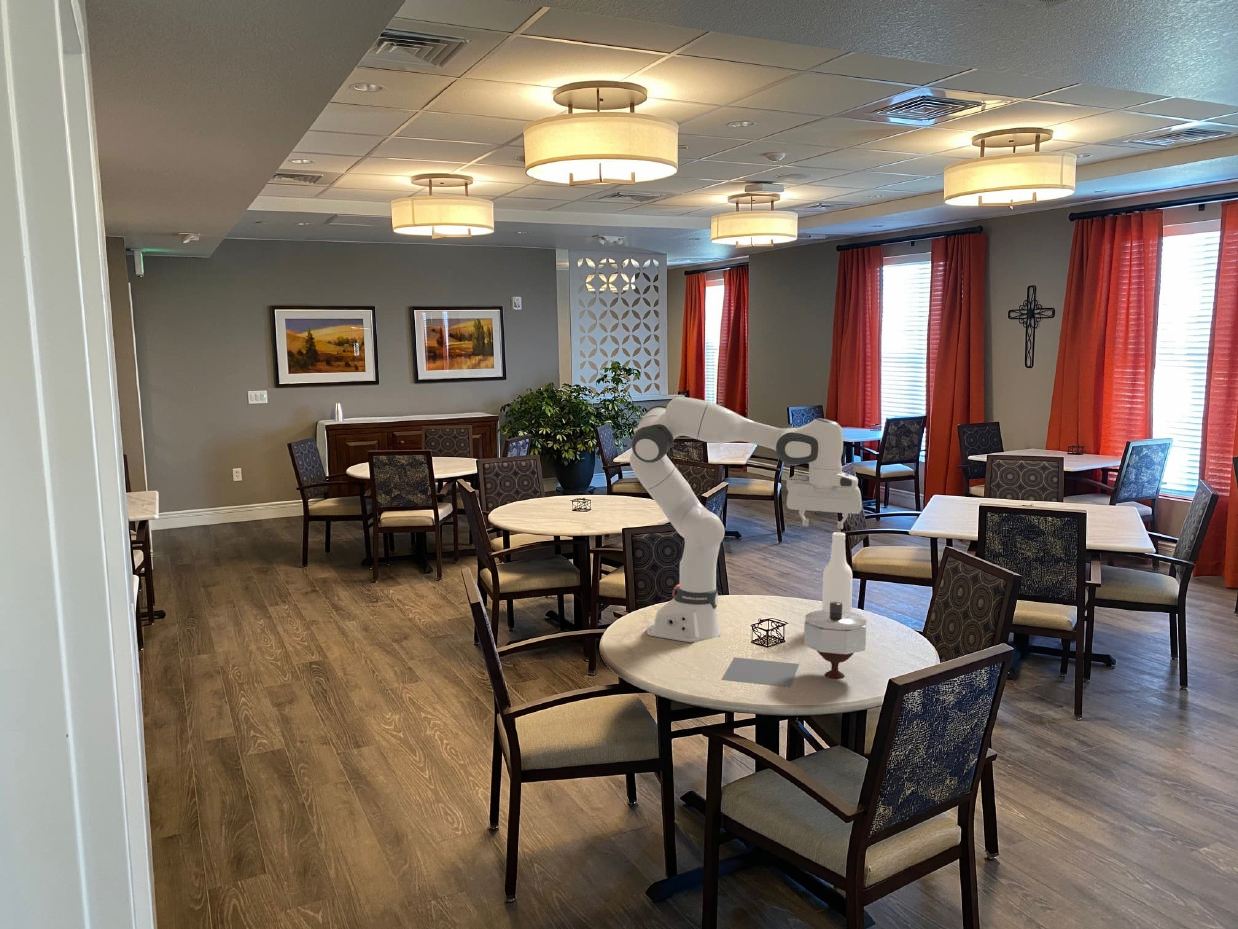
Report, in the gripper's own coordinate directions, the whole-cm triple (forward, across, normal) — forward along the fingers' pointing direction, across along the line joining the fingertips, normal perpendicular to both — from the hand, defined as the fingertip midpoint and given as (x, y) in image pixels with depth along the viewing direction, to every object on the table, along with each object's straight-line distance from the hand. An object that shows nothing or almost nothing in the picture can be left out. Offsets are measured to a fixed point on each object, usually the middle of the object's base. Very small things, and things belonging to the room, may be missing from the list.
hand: (822, 527), depth 251 cm
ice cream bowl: (+37, +6, -15) cm, 41 cm away
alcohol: (+37, +3, +28) cm, 47 cm away
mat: (+38, -13, -18) cm, 43 cm away
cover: (+28, +6, -15) cm, 32 cm away
